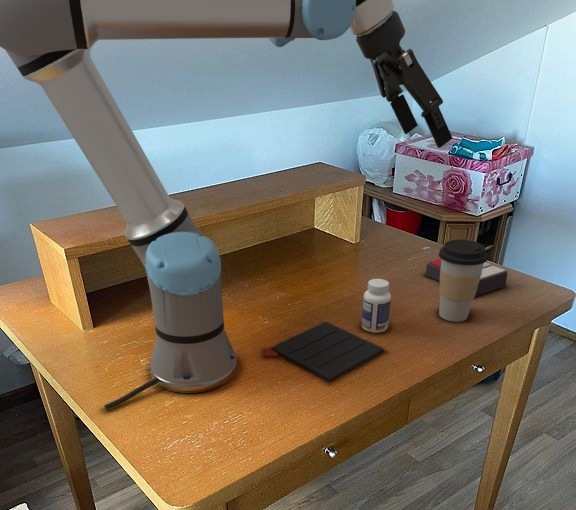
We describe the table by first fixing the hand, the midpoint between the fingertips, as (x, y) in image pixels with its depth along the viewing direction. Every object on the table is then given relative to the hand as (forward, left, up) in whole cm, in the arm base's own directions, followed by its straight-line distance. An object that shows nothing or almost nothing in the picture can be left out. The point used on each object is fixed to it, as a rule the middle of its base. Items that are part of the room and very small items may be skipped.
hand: (427, 136), depth 109 cm
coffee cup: (+4, -9, -35) cm, 36 cm away
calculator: (+21, -1, -35) cm, 41 cm away
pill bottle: (-12, -1, -35) cm, 37 cm away
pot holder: (-27, 0, -35) cm, 44 cm away
